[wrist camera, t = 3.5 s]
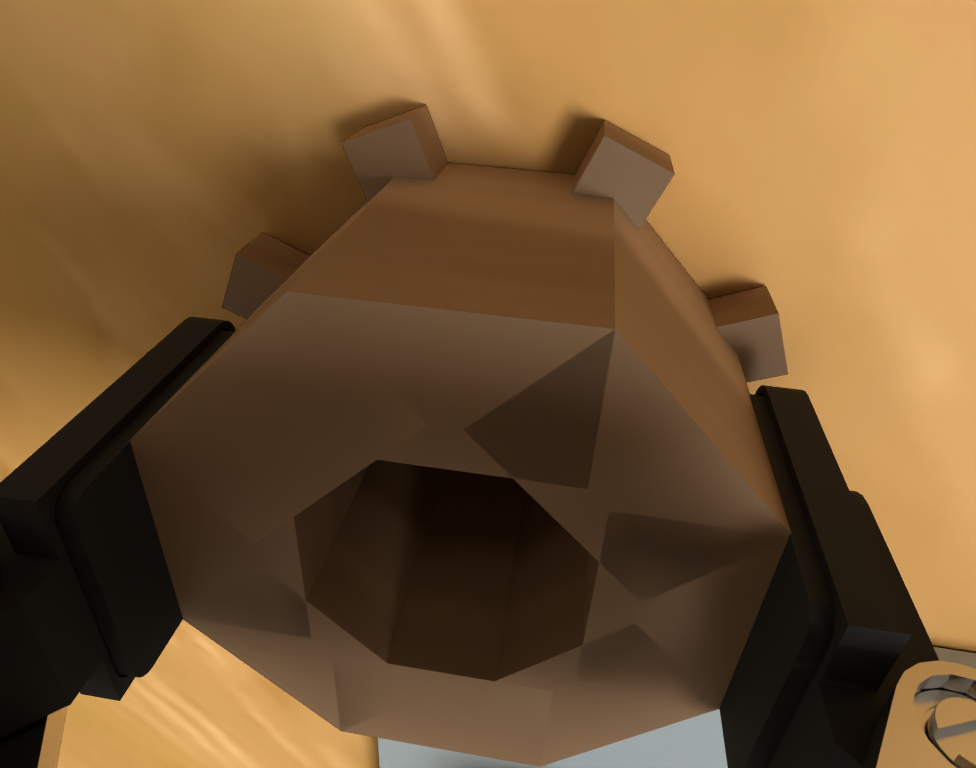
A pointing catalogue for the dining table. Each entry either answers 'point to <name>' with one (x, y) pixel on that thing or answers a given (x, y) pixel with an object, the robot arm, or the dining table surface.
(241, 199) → the dining table surface
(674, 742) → the gear board
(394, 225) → the walnut gear
